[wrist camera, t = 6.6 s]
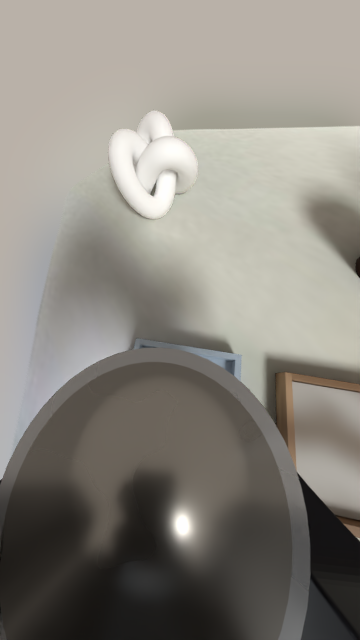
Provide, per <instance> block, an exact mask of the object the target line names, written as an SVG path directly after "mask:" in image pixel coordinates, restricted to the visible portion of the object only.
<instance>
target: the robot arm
mask: <svg viewBox="0 0 360 640" xmlns="http://www.w3.org/2000/svg"><path fill="white" fill-rule="evenodd" d="M297 475H298V478H299V481H300V484H301V488H302V492H303V497H304V502H305V507H306V512H307V518H308V528H309V537H310V585H309V595H308V606H307V612H306V617H305V621H304V626H303V631H302V636H301V640H360V541H359V540H358V539H357V538H356V537H355V536H354V535H353V534H352V533H351V531H350V530H349V529H348V528H347V527H346V526H345V525H344V524H343V523H342V522H341V521H340V520H339V518H338V517H337V516H336V515H335V514H334V513H333V512H332V511H331V510H330V509H329V508H328V507H327V506H326V504H325V503H324V502H323V501H322V500H321V499H320V498H319V497H318V496H317V494H316V493H315V492H314V491H313V490H312V489H311V488H310V487H309V485H308V484H307V483H306V482H305V481H304V480H303V478H302V477H301V476H300V475H299V474H298V472H297ZM1 481H2V479H1V480H0V484H1Z"/></svg>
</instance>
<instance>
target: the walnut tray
mask: <svg viewBox="0 0 360 640" xmlns="http://www.w3.org/2000/svg"><path fill="white" fill-rule="evenodd" d="M275 374H276V421H277V428H278V430H279V432H280V434H281V435H282V437H283V439H284V441H285V443H286V446H287V448H288V450H289V453H290V455H291V457H292V460H293V462H294V465H295V468H296V471H297V472H298V474H299V475H300V476H301V477H302V478H303V480H304V481H305V482H306V483H307V484H308V485H309V487H310V488H311V489H312V490H313V491H314V492H315V493H316V494H317V496H318V497H319V498H320V499H321V500H322V501H323V502H324V503H325V504H326V506H327V507H328V508H329V509H330V510H331V511H332V512H333V513H334V514H335V515H336V516H337V517H338V518H339V520H340V521H341V522H342V523H343V524H344V525H345V526H346V527H347V528H348V529H349V530H350V531H351V533H352V534H353V535H354V536H355V537H358V538H360V384H355V383H349V382H343V381H337V380H331V379H324V378H318V377H312V376H306V375H300V374H294V373H288V372H282V373H275Z"/></svg>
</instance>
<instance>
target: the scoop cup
mask: <svg viewBox="0 0 360 640" xmlns="http://www.w3.org/2000/svg"><path fill="white" fill-rule="evenodd" d="M309 585H310V537H309V528H308V518H307V512H306V507H305V502H304V497H303V492H302V488H301V484H300V481H299V478H298V475H297V471H296V468H295V465H294V462H293V460H292V457H291V455H290V453H289V450H288V448H287V446H286V443H285V441H284V439H283V437H282V435H281V434H280V432H279V430H278V428H277V426H276V424H275V423H274V421H273V420H272V418H271V417H270V415H269V414H268V412H267V411H266V409H265V408H264V407H263V405H262V404H261V403H260V401H259V400H258V399H257V398H256V397H255V396H254V395H253V393H252V392H251V391H250V390H249V389H248V388H247V387H246V386H245V385H244V384H243V383H241V382H240V381H239V380H238V379H237V378H236V377H235V376H233V375H232V374H231V373H229V372H228V371H226V370H225V369H224V368H222V367H221V366H219V365H217V364H215V363H213V362H212V361H210V360H208V359H206V358H203V357H201V356H198V355H196V354H193V353H190V352H186V351H182V350H178V349H170V348H161V347H159V348H141V349H134V350H129V351H125V352H121V353H118V354H115V355H112V356H110V357H107V358H105V359H103V360H100V361H98V362H97V363H95V364H93V365H91V366H89V367H88V368H86V369H84V370H83V371H81V372H80V373H79V374H77V375H76V376H74V377H73V378H72V379H70V380H69V381H68V382H67V383H66V384H65V385H64V386H62V387H61V388H60V389H59V390H58V391H57V392H56V393H55V394H54V395H53V396H52V397H51V398H50V399H49V401H48V402H47V403H46V404H45V405H44V406H43V407H42V409H41V410H40V411H39V413H38V414H37V415H36V417H35V418H34V419H33V421H32V422H31V423H30V425H29V426H28V428H27V430H26V431H25V433H24V435H23V436H22V438H21V440H20V441H19V443H18V445H17V447H16V449H15V451H14V453H13V455H12V457H11V459H10V461H9V463H8V465H7V468H6V471H5V473H4V476H3V478H2V481H1V484H0V640H301V636H302V631H303V626H304V621H305V617H306V612H307V606H308V595H309Z"/></svg>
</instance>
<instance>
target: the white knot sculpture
mask: <svg viewBox="0 0 360 640" xmlns="http://www.w3.org/2000/svg"><path fill="white" fill-rule="evenodd" d="M108 159H109V165H110V169H111V172H112V176H113V178H114V181H115V183H116V185H117V187H118V189H119V191H120V192H121V194H122V196H123V197H124V199H125V200H126V201H127V203H128V204H129V205H130V206H131V207H132V208H133V209H134V210H135V211H136V212H137V213H139V214H140V215H142V216H144V217H146V218H150V219H159V218H162V217H163V216H165V215H166V214H167V213H168V211H169V210H170V208H171V206H172V204H173V201H174V196H175V194H181V193H184V192H186V191H188V190H189V189H190V188H191V187H192V186H193V185H194V183H195V181H196V178H197V175H198V163H197V158H196V155H195V153H194V152H193V150H192V149H191V147H190V146H189V145H188V144H187V143H186V142H184V141H183V140H182V139H180V138H178V137H174V135H173V131H172V127H171V125H170V122H169V121H168V119H167V117H166V116H165V115H164V114H163V113H160V112H158V111H156V110H153V111H150V112H149V113H148V114H146V115H145V116H144V117H143V118H142V120H141V121H140V123H139V125H138V127H137V130H136V132H134V131H133V130H129V129H124V128H122V129H119V130H118V131H116V132H115V133H114V134H113V135H112V136H111V138H110V142H109V147H108ZM154 185H156V189H155V194H154V196H152V195H150V193H151V191H152V189H153V187H154Z"/></svg>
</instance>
